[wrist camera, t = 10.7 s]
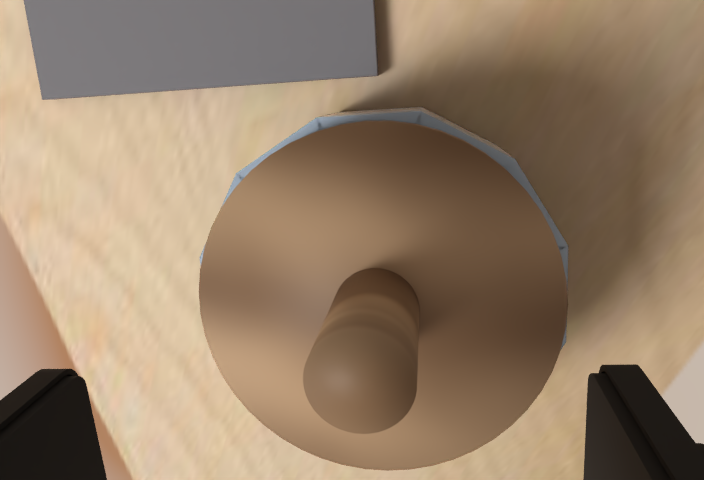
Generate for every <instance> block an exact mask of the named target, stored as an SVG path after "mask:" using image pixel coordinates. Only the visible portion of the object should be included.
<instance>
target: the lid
mask: <svg viewBox="0 0 704 480" xmlns="http://www.w3.org/2000/svg"><path fill="white" fill-rule="evenodd" d="M199 299H200V312H201V318H202V323H203V327H204V332H205V336H206V339H207V342H208V345H209V348H210V350H211V353H212V356H213V358H214V360H215V362H216V364H217V366H218V368H219V370H220V372H221V374H222V376H223V378H224V379H225V381H226V382H227V384H228V385H229V387H230V388H231V390H232V391H233V393H234V394H235V395H236V396H237V398H238V399H239V400H240V401H241V402H242V404H243V405H244V406H245V407H246V408H247V409H248V411H249V412H251V413H252V414H253V415H254V416H255V417H256V418H257V419H258V420H259V421H260V422H261V423H262V424H263V425H265V426H266V427H267V428H269V429H270V430H271V431H273V432H274V433H275V434H277V435H278V436H279V437H281V438H282V439H284V440H286V441H287V442H289V443H291V444H293V445H294V446H296V447H298V448H300V449H301V450H304V451H306V452H308V453H311V454H313V455H315V456H318V457H320V458H322V459H326V460H329V461H332V462H335V463H339V464H342V465H347V466H352V467H358V468H363V469H374V470H407V469H415V468H421V467H427V466H433V465H436V464H440V463H443V462H446V461H450V460H453V459H456V458H458V457H460V456H463V455H465V454H467V453H470V452H472V451H474V450H476V449H478V448H480V447H481V446H483V445H485V444H486V443H488V442H490V441H492V440H493V439H495V438H496V437H497V436H499V435H500V434H501V433H502V432H504V431H505V430H506V429H508V428H509V427H510V426H511V425H512V424H513V423H514V422H515V421H516V420H517V419H518V418H519V417H520V416H521V415H522V414H523V413H524V412H525V411H526V410H527V409H528V408H529V407H530V405H531V404H532V403H533V401H534V400H535V399H536V398H537V396H538V395H539V394H540V392H541V391H542V389H543V387H544V385H545V384H546V382H547V380H548V378H549V376H550V375H551V373H552V371H553V368H554V366H555V363H556V361H557V358H558V355H559V353H560V350H561V346H562V342H563V338H564V333H565V329H566V320H567V308H568V299H567V282H566V276H565V271H564V266H563V261H562V256H561V254H560V251H559V248H558V245H557V243H556V240H555V237H554V234H553V232H552V230H551V228H550V226H549V225H548V223H547V221H546V219H545V217H544V215H543V213H542V211H541V210H540V209H539V207H538V206H537V204H536V203H535V202H534V200H533V199H532V198H531V196H530V195H529V193H528V192H527V191H526V190H525V189H524V188H523V186H522V185H521V184H520V183H519V182H518V181H517V180H516V179H515V178H514V177H513V176H512V175H511V174H510V173H509V172H508V171H507V170H506V169H505V168H504V167H503V166H501V165H500V164H499V163H498V162H496V161H495V160H494V159H492V158H491V157H490V156H489V155H487V154H486V153H485V152H483V151H481V150H480V149H478V148H476V147H475V146H473V145H471V144H470V143H468V142H466V141H464V140H463V139H460V138H458V137H455V136H453V135H451V134H448V133H446V132H443V131H441V130H438V129H434V128H430V127H427V126H423V125H419V124H415V123H407V122H399V121H392V120H381V121H360V122H353V123H346V124H340V125H337V126H333V127H330V128H326V129H323V130H319V131H316V132H314V133H311V134H309V135H307V136H304V137H302V138H300V139H297V140H295V141H293V142H291V143H289V144H287V145H286V146H284V147H282V148H281V149H279V150H277V151H276V152H274V153H272V154H271V155H269V156H268V157H267V158H266V159H264V160H263V161H262V162H261V163H260V164H258V165H257V166H256V167H255V168H253V169H252V170H251V171H250V172H249V173H248V174H247V175H246V176H245V178H244V179H243V180H242V181H241V182H240V183H239V184H238V185H237V186H236V187H235V189H234V190H233V191H232V193H231V194H230V196H229V197H228V199H227V200H226V202H225V203H224V204H223V206H222V207H221V209H220V211H219V213H218V215H217V217H216V219H215V221H214V223H213V225H212V227H211V230H210V233H209V236H208V239H207V242H206V245H205V248H204V253H203V258H202V263H201V268H200V282H199Z"/></svg>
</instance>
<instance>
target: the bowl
mask: <svg viewBox="0 0 704 480" xmlns="http://www.w3.org/2000/svg"><path fill="white" fill-rule="evenodd" d="M381 120H392V121H399V122H407V123H415V124H419V125H423V126H427V127H430V128H434V129H438V130H441V131H443V132H446V133H448V134H451V135H453V136H455V137H458V138H460V139H463V140H464V141H466V142H468V143H470V144H471V145H473V146H475V147H476V148H478V149H480V150H481V151H483V152H485V153H486V154H487V155H489V156H490V157H491V158H492V159H494V160H495V161H496V162H498V163H499V164H500V165H501V166H503V167H504V168H505V169H506V170H507V171H508V172H509V173H510V174H511V175H512V176H513V177H514V178H515V179H516V180H517V181H518V182H519V183H520V184H521V185H522V186H523V188H524V189H525V190H526V191H527V192H528V193H529V195H530V196H531V198H532V199H533V200H534V202H535V203H536V204H537V206H538V207H539V209H540V210H541V211H542V213H543V215H544V217H545V219H546V221H547V223H548V225H549V226H550V228H551V230H552V232H553V234H554V237H555V240H556V243H557V245H558V248H559V251H560V254H561V256H562V261H563V266H564V271H565V276H566V282H568V245H567V243H566V241H565V240H564V238H563V237H562V235H561V233H560V232H559V230H558V228H557V227H556V225H555V223H554V222H553V220H552V219H551V217H550V215H549V214H548V212H547V210H546V209H545V207H544V205H543V204H542V202H541V200H540V199H539V197H538V196H537V194H536V192H535V191H534V189H533V187H532V186H531V184H530V182H529V181H528V179H527V178H526V176H525V174H524V173H523V171H522V169H521V168H520V166H519V164H518V163H517V161H516V160H515V159H514V158H513V157H512V156H511V155H509V154H508V153H507V152H505V151H504V150H503V149H501V148H500V147H499V146H497V145H496V144H494V143H492V142H490V141H488V140H486V139H484V138H482V137H480V136H478V135H476V134H474V133H472V132H470V131H468V130H466V129H464V128H463V127H461V126H459V125H457V124H455V123H453V122H451V121H449V120H447V119H445V118H443V117H441V116H439V115H437V114H435V113H433V112H431V111H429V110H427V109H425V108H423V107H411V108H395V109H380V110H364V111H349V112H338V113H333V114H329V115H325V116H321V117H317V118H315V119H314V120H312V121H311V122H309V123H308V124H307V125H305V126H304V127H302V128H301V129H299V130H298V131H296V132H295V133H294V134H292V135H291V136H289V137H288V138H286V139H285V140H284V141H282V142H281V143H279V144H278V145H276V146H275V147H273V148H272V149H271V150H269V151H268V152H266V153H265V154H263V155H262V156H261V157H259V158H258V159H256V160H255V161H253V162H252V163H250V164H249V165H248V166H246V167H245V168H243V169H242V170H240V171H239V172H238V173H236V175H235V177H234V180H233V182H232V184H231V187H230V189H229V191H228V194H227V196H226V198H225V200H224V203H225V202H226V200H227V199H228V197H229V196H230V194H231V193H232V191H233V190H234V189H235V187H236V186H237V185H238V184H239V183H240V182H241V181H242V180H243V179H244V178H245V176H246V175H247V174H248V173H249V172H250V171H251V170H252V169H253V168H255V167H256V166H257V165H258V164H260V163H261V162H262V161H263V160H264V159H266V158H267V157H268V156H269V155H271V154H272V153H274V152H276V151H277V150H279V149H281V148H282V147H284V146H286V145H287V144H289V143H291V142H293V141H295V140H297V139H300V138H302V137H304V136H307V135H309V134H311V133H314V132H316V131H319V130H323V129H326V128H330V127H333V126H337V125H340V124H346V123H353V122H360V121H381ZM224 203H223V204H224ZM222 206H223V205H222ZM205 245H206V244H205ZM204 248H205V247H204ZM203 253H204V249H203V251H202V254H201V256H200V263H202V258H203ZM566 326H567V320H566ZM565 343H566V329H565V333H564V338H563V342H562V346H561V349H562V347H563V346H564V344H565Z"/></svg>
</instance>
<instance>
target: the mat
mask: <svg viewBox="0 0 704 480" xmlns="http://www.w3.org/2000/svg"><path fill="white" fill-rule="evenodd" d="M24 4H25V9H26V15H27V20H28V25H29V31H30V36H31V42H32V47H33V52H34V58H35V63H36V68H37V74H38V79H39V84H40V90H41V95H42V100H48V99H64V98H78V97H92V96H106V95H119V94H133V93H147V92H161V91H175V90H189V89H202V88H216V87H230V86H244V85H258V84H271V83H285V82H299V81H313V80H327V79H341V78H354V77H368V76H378V60H377V41H376V22H375V3H374V0H24Z"/></svg>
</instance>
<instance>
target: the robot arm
mask: <svg viewBox="0 0 704 480" xmlns="http://www.w3.org/2000/svg"><path fill="white" fill-rule="evenodd" d="M0 480H107V478H106V473H105V469H104V464H103V460H102V455H101V450H100V446H99V442H98V437H97V432H96V428H95V423H94V418H93V414H92V409H91V404H90V400H89V395H88V391H87V386H86V383H85V380H84V379H83V378H82V377H80V376H78V374H77V373H76V372H75V371H74V370H72V369H41V370H39V371H38V372H36V373H35V374H33V375H32V376H31V377H30V378H28V379H27V380H26V381H25V382H23V383H22V384H21V385H20V386H18V387H17V388H16V389H14V390H13V391H12V392H11V393H9V394H8V395H7V396H5V397H4V398H3V399H2V400H0ZM584 480H704V444H701V443H695V442H694V440H693V439H692V438H691V436H690V435H689V434H688V432H687V431H686V430H685V428H684V427H683V425H682V424H681V423H680V421H679V420H678V419H677V417H676V416H675V415H674V413H673V412H672V410H671V409H670V408H669V406H668V405H667V404H666V402H665V401H664V399H663V398H662V397H661V395H660V394H659V393H658V391H657V390H656V388H655V387H654V386H653V384H652V383H651V382H650V380H649V379H648V377H647V376H646V375H645V373H644V372H643V371H642V369H641V368H640V367H639V366H638V365H602V366H601V367H600V370H599V373H591V374H590V375H589V378H588V393H587V415H586V438H585V460H584Z"/></svg>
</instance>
